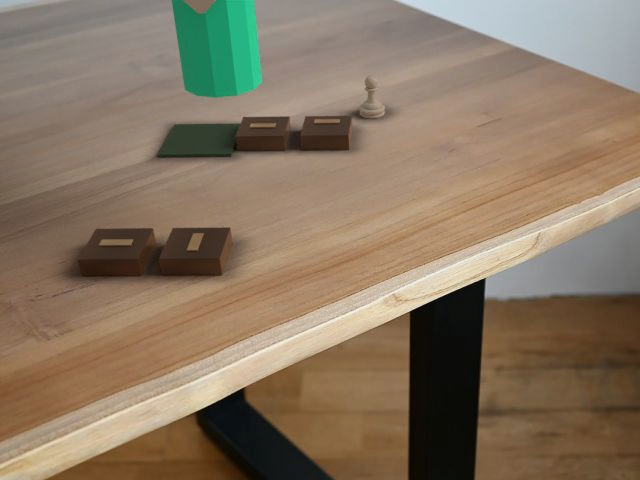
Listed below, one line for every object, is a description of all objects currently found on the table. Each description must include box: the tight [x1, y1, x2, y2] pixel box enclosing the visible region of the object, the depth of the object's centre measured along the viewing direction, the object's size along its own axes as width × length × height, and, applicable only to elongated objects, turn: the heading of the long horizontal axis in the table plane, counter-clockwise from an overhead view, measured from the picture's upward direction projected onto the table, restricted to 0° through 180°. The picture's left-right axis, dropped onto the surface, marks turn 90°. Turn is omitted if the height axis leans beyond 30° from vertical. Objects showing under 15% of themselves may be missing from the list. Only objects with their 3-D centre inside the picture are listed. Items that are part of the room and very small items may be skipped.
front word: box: [77, 226, 234, 277], centre depth 69 cm, size 10×4×2 cm, turn 89°
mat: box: [157, 122, 241, 158], centre depth 87 cm, size 7×7×1 cm
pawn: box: [358, 75, 386, 120], centre depth 90 cm, size 3×3×4 cm
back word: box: [235, 115, 353, 152], centre depth 86 cm, size 10×4×2 cm, turn 89°
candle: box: [171, 0, 263, 99], centre depth 66 cm, size 6×6×12 cm
